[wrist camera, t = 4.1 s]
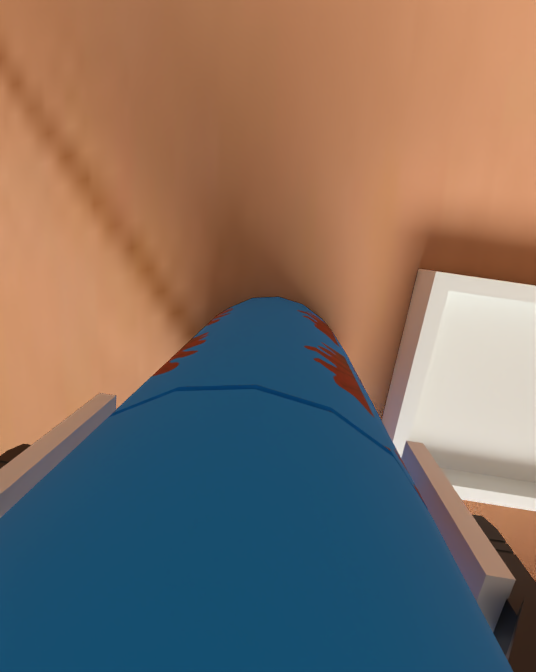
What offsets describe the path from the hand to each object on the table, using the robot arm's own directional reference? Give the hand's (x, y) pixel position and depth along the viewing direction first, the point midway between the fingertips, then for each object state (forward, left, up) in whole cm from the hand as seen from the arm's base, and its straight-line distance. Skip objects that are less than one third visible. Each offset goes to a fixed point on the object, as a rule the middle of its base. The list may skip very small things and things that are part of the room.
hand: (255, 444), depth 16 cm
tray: (+17, +1, -11) cm, 21 cm away
